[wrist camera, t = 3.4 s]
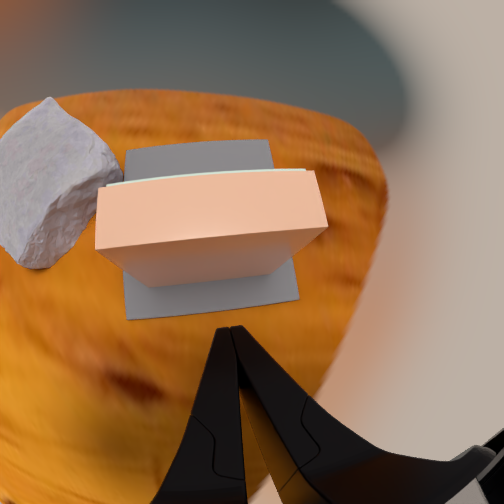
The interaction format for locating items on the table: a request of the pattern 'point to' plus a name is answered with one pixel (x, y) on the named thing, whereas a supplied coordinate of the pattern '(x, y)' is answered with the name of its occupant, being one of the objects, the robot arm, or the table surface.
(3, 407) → the table surface
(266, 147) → the mat
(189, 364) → the table surface
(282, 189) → the tile
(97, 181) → the stone block
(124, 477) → the table surface
